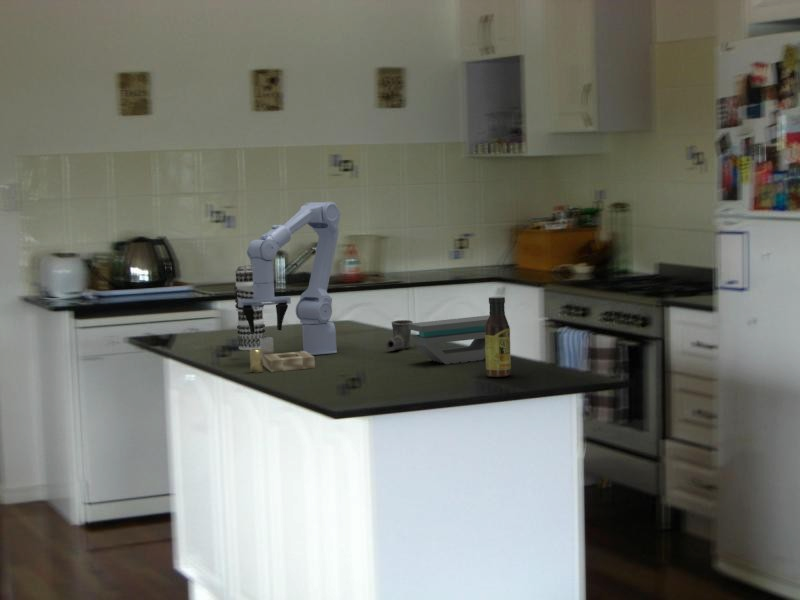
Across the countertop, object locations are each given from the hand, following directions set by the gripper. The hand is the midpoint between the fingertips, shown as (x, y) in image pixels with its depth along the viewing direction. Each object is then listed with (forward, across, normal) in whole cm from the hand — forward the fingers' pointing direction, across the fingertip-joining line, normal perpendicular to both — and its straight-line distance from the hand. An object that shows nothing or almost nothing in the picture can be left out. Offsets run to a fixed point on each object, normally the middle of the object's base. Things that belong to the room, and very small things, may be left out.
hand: (266, 331), depth 353 cm
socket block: (+9, -4, +10) cm, 14 cm away
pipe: (+9, -40, -2) cm, 41 cm away
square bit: (+9, 0, 0) cm, 9 cm away
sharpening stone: (+9, -47, +26) cm, 54 cm away
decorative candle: (+9, -2, -32) cm, 33 cm away
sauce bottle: (+9, -47, +55) cm, 73 cm away
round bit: (+9, +6, +14) cm, 18 cm away
